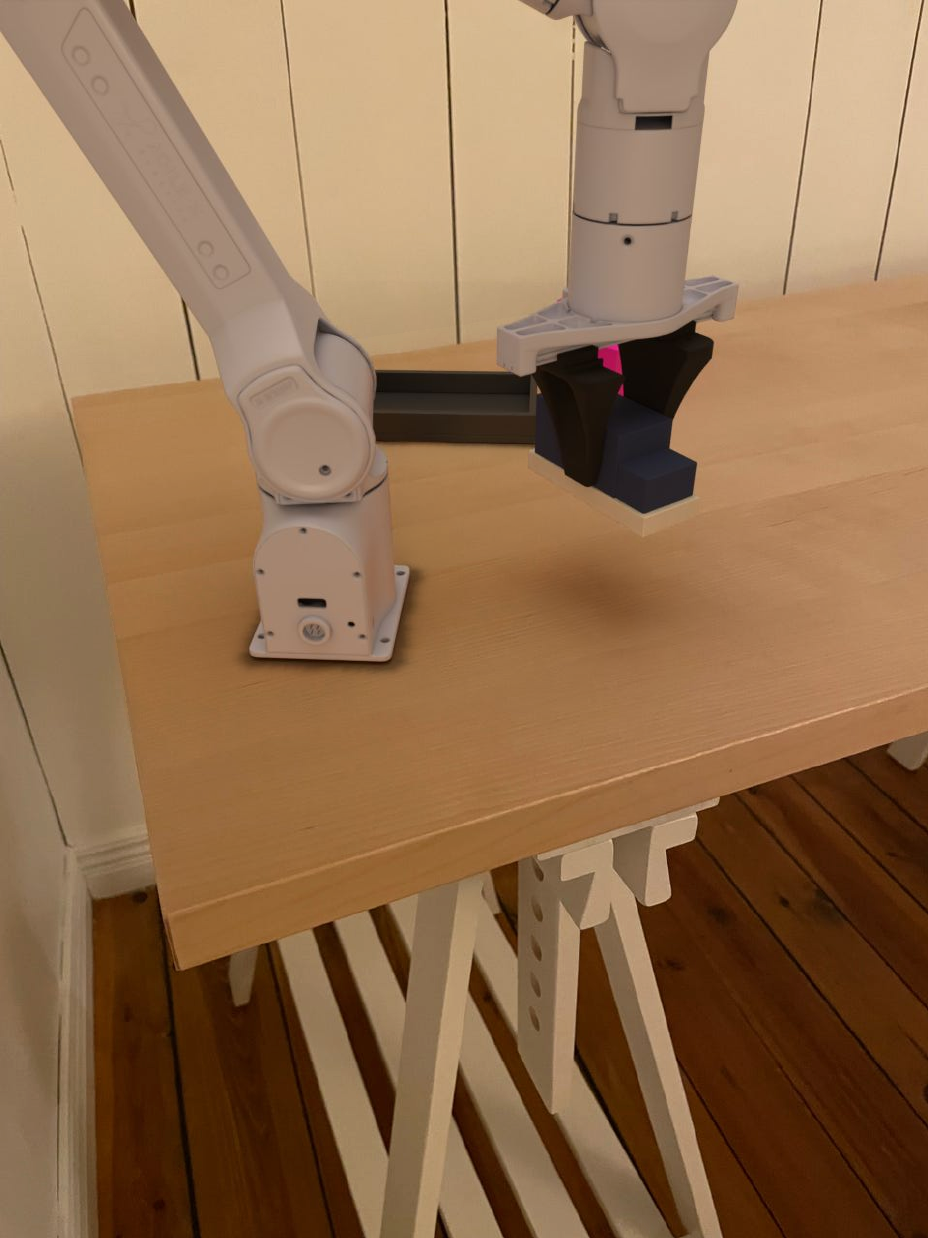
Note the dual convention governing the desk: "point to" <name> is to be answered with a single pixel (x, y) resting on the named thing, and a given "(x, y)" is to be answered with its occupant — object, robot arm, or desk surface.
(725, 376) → the desk surface
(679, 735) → the desk surface
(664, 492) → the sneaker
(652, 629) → the desk surface
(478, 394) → the tray
